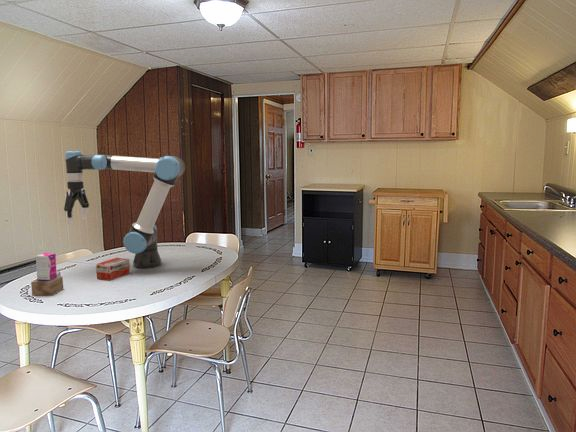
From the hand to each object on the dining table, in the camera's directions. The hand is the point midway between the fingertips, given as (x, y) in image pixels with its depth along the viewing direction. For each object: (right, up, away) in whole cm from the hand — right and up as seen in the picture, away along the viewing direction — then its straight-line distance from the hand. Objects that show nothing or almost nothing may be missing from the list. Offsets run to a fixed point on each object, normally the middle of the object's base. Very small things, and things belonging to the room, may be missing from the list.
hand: (78, 221), depth 227 cm
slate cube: (-2, -30, -21) cm, 37 cm away
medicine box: (+21, -28, -5) cm, 35 cm away
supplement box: (+1, -26, -32) cm, 41 cm away
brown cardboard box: (+1, -31, -31) cm, 44 cm away
